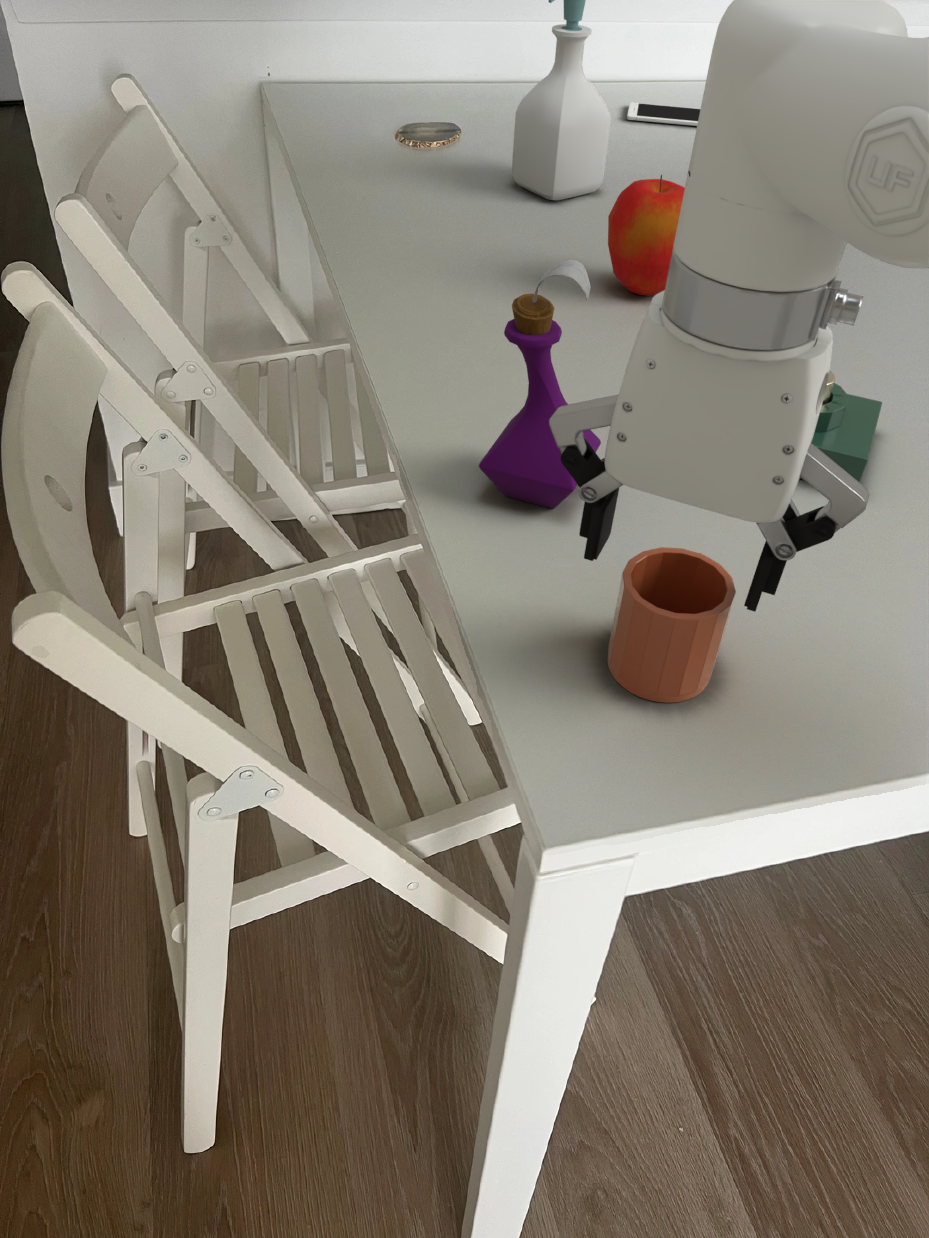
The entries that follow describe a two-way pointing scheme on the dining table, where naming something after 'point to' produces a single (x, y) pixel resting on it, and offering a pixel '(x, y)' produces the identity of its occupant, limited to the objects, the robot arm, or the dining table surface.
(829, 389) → the metal button cap
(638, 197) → the apple
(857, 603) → the dining table surface
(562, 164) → the soap bottle
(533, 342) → the perfume bottle
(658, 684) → the cup
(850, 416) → the push button base
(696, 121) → the cell phone
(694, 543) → the dining table surface
